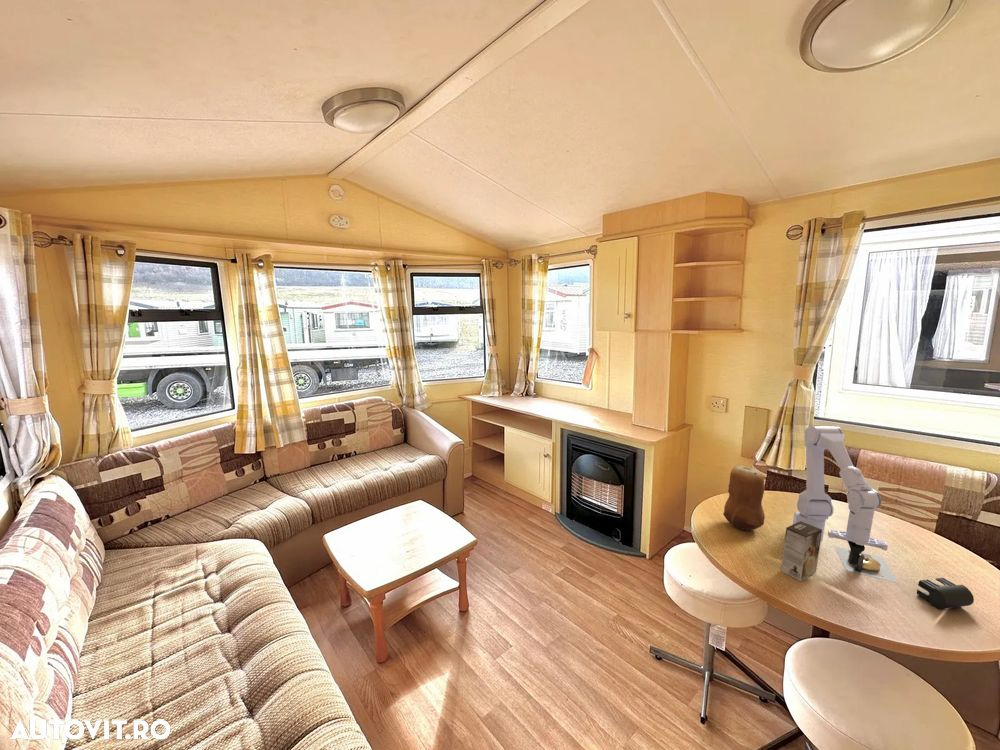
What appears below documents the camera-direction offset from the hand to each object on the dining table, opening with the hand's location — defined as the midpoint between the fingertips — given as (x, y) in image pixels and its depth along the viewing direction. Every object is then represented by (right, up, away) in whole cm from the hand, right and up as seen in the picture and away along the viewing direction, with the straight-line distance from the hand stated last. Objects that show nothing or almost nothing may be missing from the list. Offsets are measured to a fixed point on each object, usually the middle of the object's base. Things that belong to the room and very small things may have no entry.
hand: (852, 562), depth 132 cm
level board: (+7, -3, +3) cm, 8 cm away
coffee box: (-18, -4, 0) cm, 18 cm away
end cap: (+14, -6, -14) cm, 21 cm away
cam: (+5, -2, +2) cm, 6 cm away
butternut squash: (-20, +1, +27) cm, 34 cm away
